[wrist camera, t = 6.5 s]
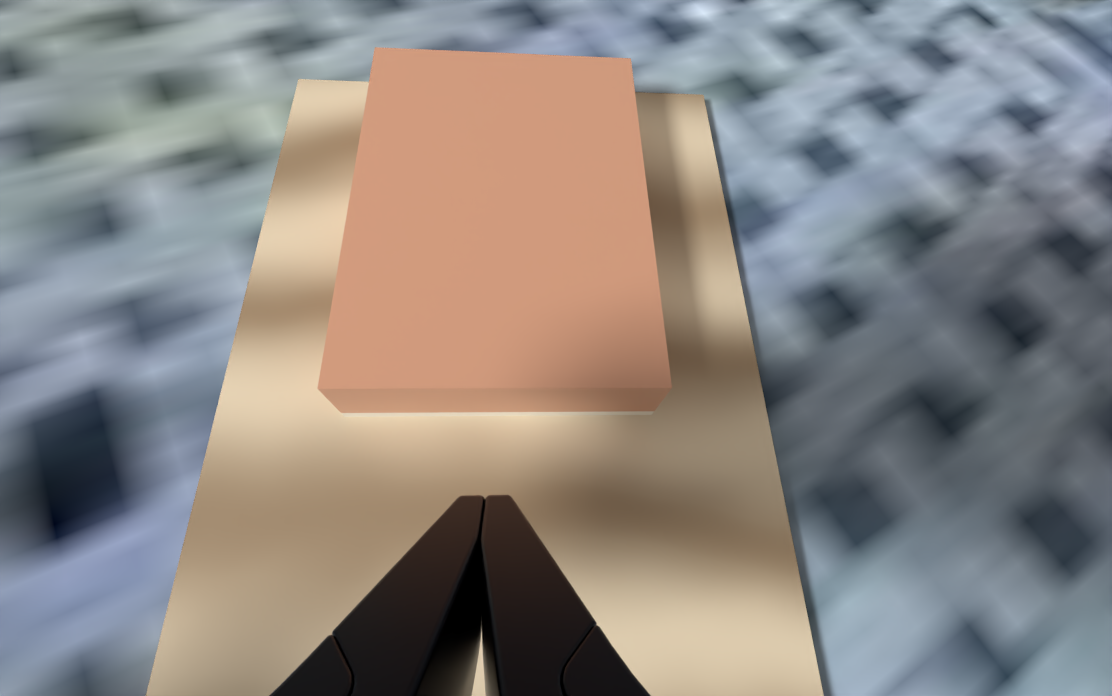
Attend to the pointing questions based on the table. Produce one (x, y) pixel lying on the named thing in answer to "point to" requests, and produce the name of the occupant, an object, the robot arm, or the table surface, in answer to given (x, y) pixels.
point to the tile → (497, 243)
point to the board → (492, 458)
